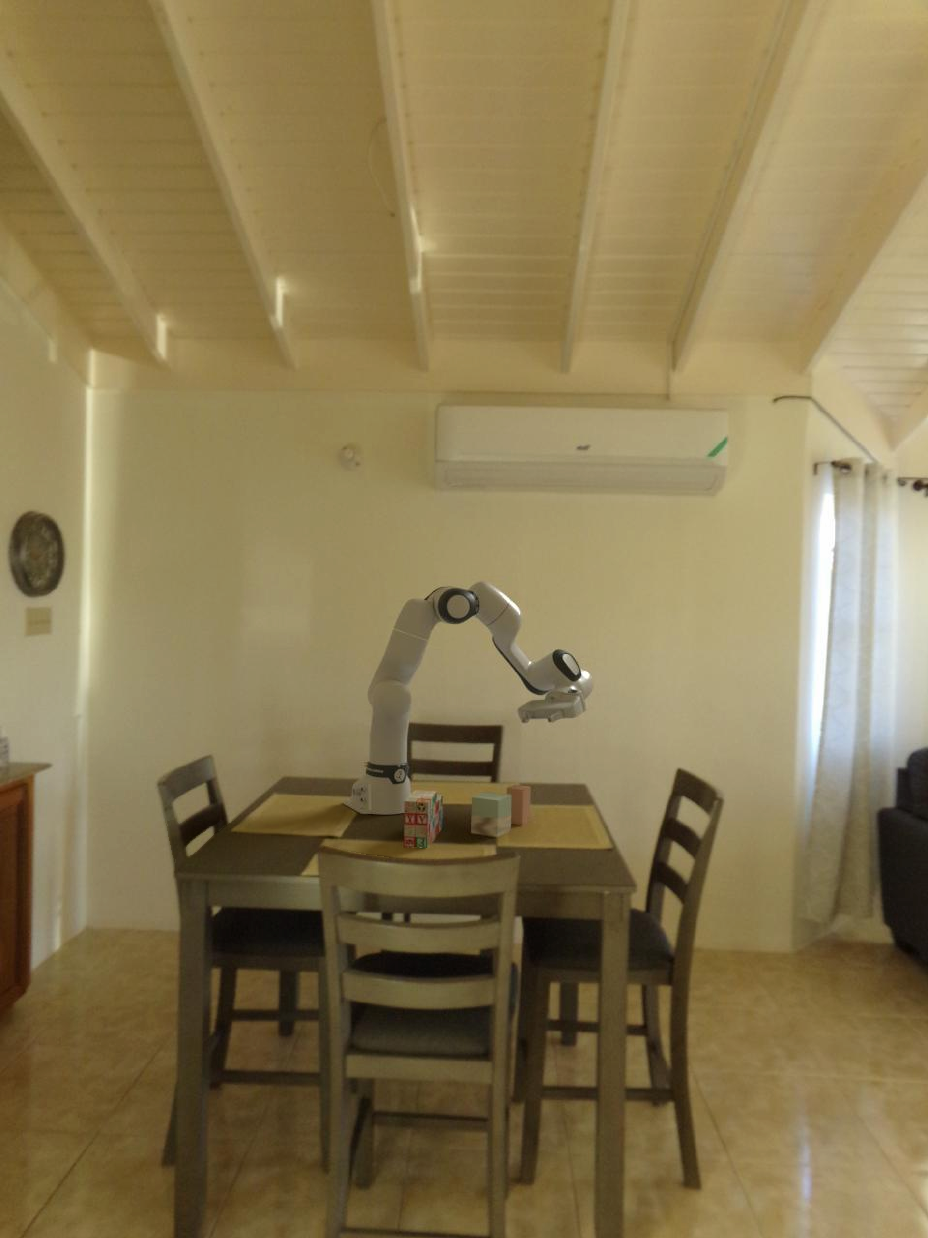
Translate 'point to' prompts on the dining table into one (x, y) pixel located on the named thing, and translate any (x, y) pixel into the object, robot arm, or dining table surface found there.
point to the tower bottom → (490, 825)
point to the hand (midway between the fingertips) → (536, 720)
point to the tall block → (520, 804)
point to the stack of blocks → (422, 818)
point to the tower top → (491, 805)
